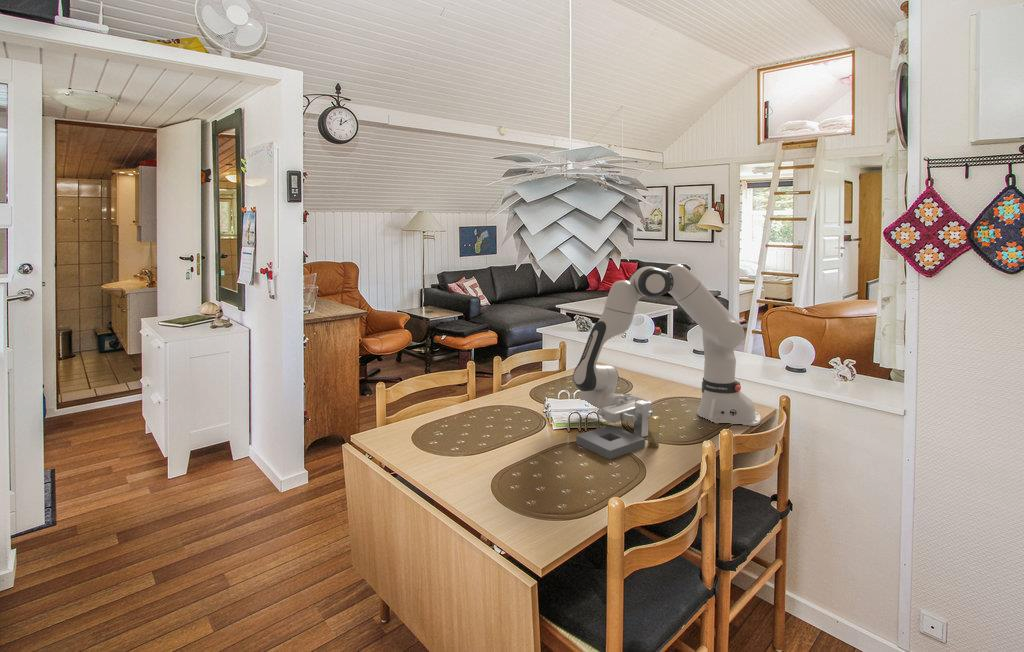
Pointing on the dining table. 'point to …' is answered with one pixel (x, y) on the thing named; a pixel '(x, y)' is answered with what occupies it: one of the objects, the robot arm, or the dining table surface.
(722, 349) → the robot arm
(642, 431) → the square bit
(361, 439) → the dining table surface
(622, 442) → the bore block
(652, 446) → the round bit
